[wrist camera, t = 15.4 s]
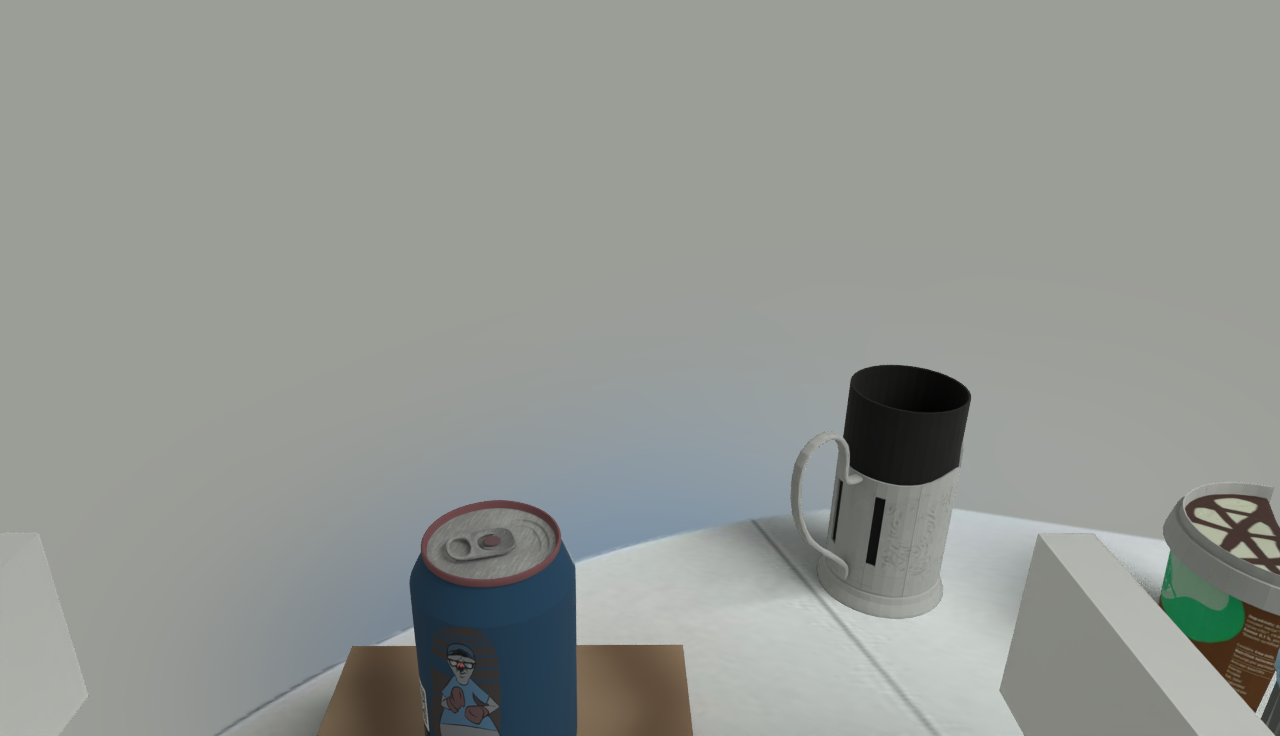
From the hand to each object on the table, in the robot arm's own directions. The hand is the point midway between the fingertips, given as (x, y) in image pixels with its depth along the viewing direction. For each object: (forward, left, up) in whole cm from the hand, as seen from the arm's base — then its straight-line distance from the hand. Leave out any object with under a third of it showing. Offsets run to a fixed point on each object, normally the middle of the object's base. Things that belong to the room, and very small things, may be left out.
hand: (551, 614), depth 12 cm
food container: (-38, -33, -30) cm, 59 cm away
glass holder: (-18, -39, -30) cm, 52 cm away
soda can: (+4, -20, -25) cm, 33 cm away
